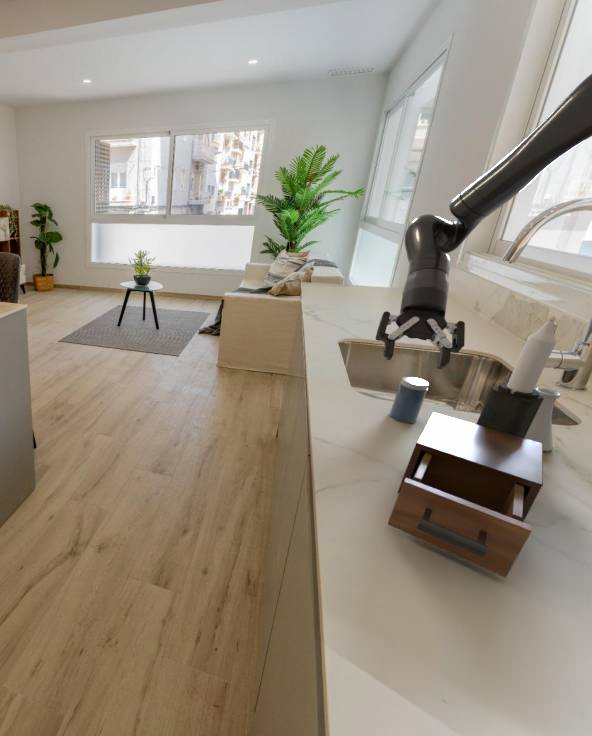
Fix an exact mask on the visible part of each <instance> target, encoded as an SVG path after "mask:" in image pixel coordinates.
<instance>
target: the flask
mask: <svg viewBox="0 0 592 736" xmlns="http://www.w3.org/2000/svg"><path fill="white" fill-rule="evenodd" d="M535 390H536V391H538V392H539V393H540V395H541V396H543V397H544V399H543V401H542V403H541V405H540V407H539V409H538V412H537V414H536V416H535V418H534V420H533V422H532V424H531V426H530V428H529V430H528V432H527V434H526V436H525V439H529V440H532V441H536V442H539V443H542V450H543V452H550V451H551V450H552V448H553V446H554V444H553V443H554V442H553V410H554V406H555V403H556V401H557V399H559V398H560V397H561V396H562V393H560V392H558V391H557V390H552V389H551V388H550V389H549V388H544V387H535Z"/></svg>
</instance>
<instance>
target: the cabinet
mask: <svg viewBox="0 0 592 736" xmlns="http://www.w3.org/2000/svg"><path fill="white" fill-rule="evenodd" d="M426 452H429V453H432V454H435V455H438V456H441V457H444V458H447V459H450V460H453V461H456V462H459V463H462V464H465V465H468V466H470V467H473V468H476V469H479V470H482V471H485V472H488V473H491V474H494V475H497V476H500V477H503V478H506V479H509V480H512V481H515V482H517V483H520V484H523V485H524V498H523V514H522V519H521V522H524V521H525V520H526V518H527V516H528V515H529V512H530V510H531V509H532V506H533V504H534V502H535V501H536V499H537V497H538V495H539V493H540V491H541V489H542V487H543V486H544V475H543V473H544V472H543V469H544V467H543V466H544V465H543V464H544V463H543V462H544V461H543V459H544V458H543V452H544V451H543V450H542V443H539V442H536V441H532V440H529V439H525V438H522V437H518V436H515V435H511V434H508V433H504V432H501V431H497V430H494V429H490V428H487V427H484V426H480V425H477V423H474V422H470V421H466V420H462V419H460V418H456V417H453V416H448V415H445V414H442V413H439V412H435V411H433V412H431V414H430V416H429V418H428V420H427V422H426V423H425V425H424V428H423V429H422V431H421V432H420V435H419V437H418V438H417V441H416V442H415V445H414V447H413V450H412V452H411V455H410V458H409V461H408V464H407V466H406V468H405V472H404V475H403V477H402V479H401V482H400V485H399V487H398V490H397V494H399V492H400V490H401V487H402V485H403V482H404V480H405V478H409V479H411V480H413V478H414V476H415V474H416V472H417V469H418V467H419V465H420V463H421V461H422V459H423V457H424V455H425V453H426Z"/></svg>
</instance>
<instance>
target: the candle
mask: <svg viewBox="0 0 592 736" xmlns="http://www.w3.org/2000/svg"><path fill="white" fill-rule="evenodd" d="M556 320H557V317H556V316H555V315H550V316H548V317H547V321H546V322H545V323H543V325H542V326H541V327H540V328H539V329H538V330H537V331H535V332H533V333H531V334H530V335H529V336H528V337H527V339H526V342H525V344H524V346H523V348H522V350H521V353H520V355H519V357H518V359H517V362H516V364H515V365H514V369H513V371H512V372H511V375H510V377H509V380H508V382H500V383H499V384H498V386H494V387H491V389H490V392H489V393H488V396H487V398H486V401H485V403H484V406H483V408H482V410H481V412H480V415H479V417H478V419H477V422H476V424H477V425H480V426H484V427H487V428H490V429H494V430H497V431H501V432H504V433H508V434H511V435H515V436H518V437H522V438H525V436H526V434H527V432H528V430H529V428H530V426H531V424H532V422H533V420H534V418H535V416H536V414H537V412H538V409H539V407H540V405H541V403H542V401H543V399H544V397H543V396H541V395H540V393H539V392H538V391H536V386H537V384H538V382H539V380H540V377H541V375H542V373H543V371H544V369H545V367H546V365H547V362H548V361H549V358H550V356H551V354H552V353H553V351H554V350H553V349H554V348H555V346H556V344H557V338H556V336H555V333H554V329H555V321H556Z"/></svg>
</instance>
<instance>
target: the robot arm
mask: <svg viewBox="0 0 592 736" xmlns="http://www.w3.org/2000/svg"><path fill="white" fill-rule="evenodd" d="M591 137H592V73H590V74H589V75H588V76H587V77H585V78H584V79H583V80H581V82H580V83H579V84H578V85H577V86H576V87H575V88H574V89H573V90H572V92H570V93H569V94H568V96H567V97H565V99H563V101H562V102H560V104H559V105H558V106H557V107H556V108H555V109H554V110H553V111H552V112H551V113H550V114H549V115H548V116H547V117H546V118H545V119H544V121H542V122H541V123H540V124H539V125H538V126H537V127H536V128H535V129H534V130H533V131H532V132H531V133H530V134H529V135H528V136H527V137H525V138H524V139H523V140H522V141H521V142H520V143H519V144H518V145H517V146H515V147H514V148H513V149H512V150H511V151H510V152H509V153H507V154H506V155H505V156H504V157H502V159H500V160H499V161H498V162H496V163H495V164H494V165H493V166H492V167H490V168H489V169H488V170H487V171H485V172H484V173H482V174H481V175H480V176H479V177H478V178H477V179H475V180H474V181H473V182H472V183H471V184H469V185H468V186H467V187H466V188H464V189H463V190H462V191H461V192H459V193H458V194H457V195H456V196H454V198H453V199H452V200H451V201H450V203H449V206H448V208H449V212H450V213H451V215H452V216H453V217H454V218H455V219H456V220H454V222H451V221H448V220H446V219H444V218H443V217H440V216H437V215H435V214H432V213H431V214H430V213H425V214H421V215H420V216H417V217H415V218H414V219H413V220H412V221H411V222H410V223H409V224H408V227H407V228H406V230H405V233H404V247H405V252H406V257H407V261H408V271H407V276H406V281H405V283H404V286H403V290H402V293H401V297H402V298H401V303H400V308H399V314H398V315H395V314H391V312H390V311H387V310H386V311H384V312H383V313H382V315H381V317H380V320H379V323H378V327H377V331H376V334H375V340H376V341H377V342H380V341H381V342H383V343H384V346H383V347H384V348H383V354H382V355H383V357H384V358H385V360H386V361H391V360H392V358H393V357H394V351H395V346H396V341H399V340H400V339H402V338H404V337H407V338H408V339H418V340H421V341H427V340H428V342H430V343H431V344H432V346H435V347H436V349H438V350H439V352H438V355H437V363H436V369H437V370H442V369H444V368H446V367H447V366H448V365H449V363H450V361H451V353H455V354H458V353H459V352H460V351H461V350H462V348H464V347H465V343H466V342H465V340H466V339H465V338H466V337H465V336H466V327H465V326H466V323H465V322H464V321H463V320H459V321H457V322H448V321H447V319H446V312H447V304H448V296H449V288H450V287H449V286H450V283H449V276H450V268H451V258H450V256H449V254H451V253H453V252H454V251H456V250H457V249H458V248H459V247H460V246H461V245H462V244H463V243H464V241H466V239H467V238H468V236H469V235H470V234H472V232H473V231H474V230H475V229H476V228H477V227H478V226H479V225H480V223H482V222H483V220H484V219H486V218H487V217H488V216H490V215H492V214H493V213H494V212H496V211H497V210H498V209H500V208H501V207H502V206H504V205H505V204H507V203H508V202H509V201H511V200H512V199H513V198H514V197H516V196H517V195H518V194H520V193H521V191H523V190H524V189H525V188H526V187H527V186H528V185H529V184H531V183H532V182H533V180H535V179H536V178H537V177H538V176H539V175H540V174H542V172H543V171H544V170H545V169H546V168H548V167H549V166H550V165H551V164H552V163H554V162H555V161H556V160H558V159H559V158H560V157H562V156H564V154H566V153H568V152H570V150H572V149H573V148H575V147H576V146H578V145H580V144H581V143H583V142H585V141H587V140H588V139H591ZM393 322H395V324H396V326H397V328H395V329H396V330H394V331H392V332H391V333H390V334H389V333H386V331H387V327H388V326H391V324H392V323H393ZM445 329H446V330H448V333H449V334H450V335H451V341H450V340H449V339H448V337H447V334H446V333H445V331H444V330H445Z"/></svg>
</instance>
